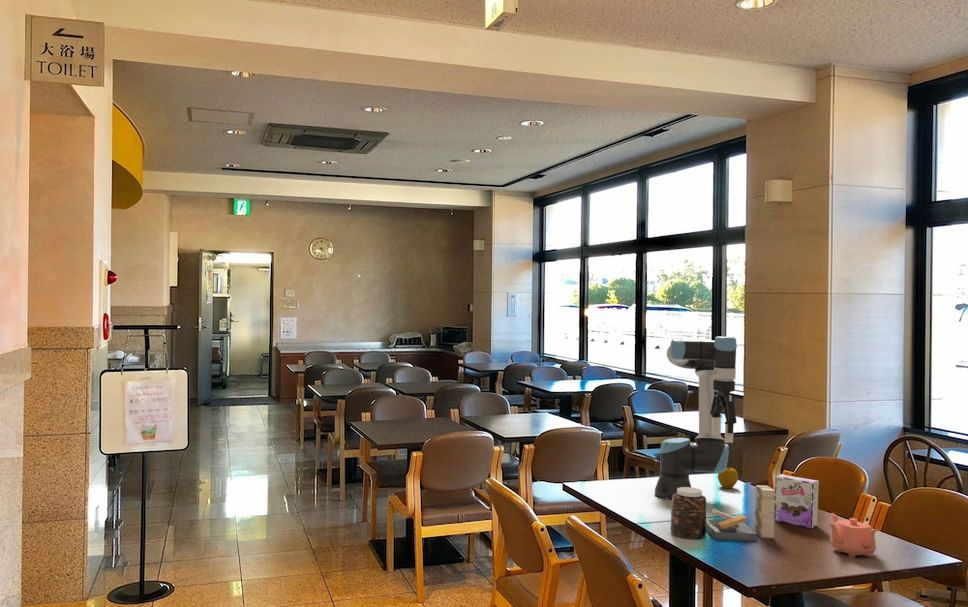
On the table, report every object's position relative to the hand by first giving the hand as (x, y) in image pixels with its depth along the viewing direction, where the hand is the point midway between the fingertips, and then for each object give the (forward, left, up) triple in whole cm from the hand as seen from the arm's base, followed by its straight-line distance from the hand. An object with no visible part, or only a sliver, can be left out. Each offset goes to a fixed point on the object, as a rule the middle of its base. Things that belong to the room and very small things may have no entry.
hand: (722, 438), depth 276 cm
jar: (+16, -16, -30) cm, 38 cm away
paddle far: (+10, -1, -25) cm, 27 cm away
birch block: (+14, +11, -30) cm, 35 cm away
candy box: (-2, +28, -30) cm, 42 cm away
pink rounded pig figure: (+32, +31, -30) cm, 54 cm away
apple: (-56, +21, -30) cm, 67 cm away
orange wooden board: (+17, -1, -25) cm, 30 cm away
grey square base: (+14, -1, -30) cm, 33 cm away
